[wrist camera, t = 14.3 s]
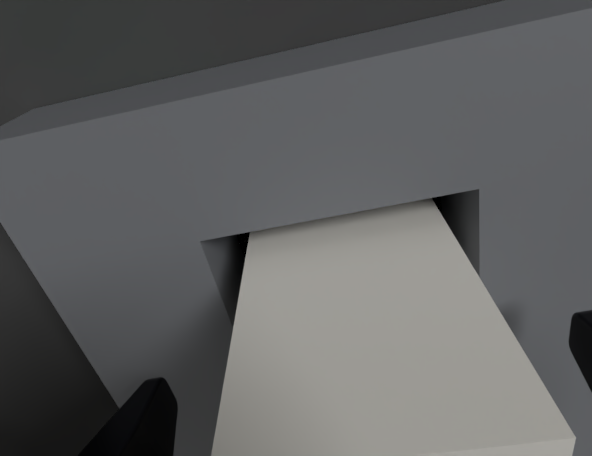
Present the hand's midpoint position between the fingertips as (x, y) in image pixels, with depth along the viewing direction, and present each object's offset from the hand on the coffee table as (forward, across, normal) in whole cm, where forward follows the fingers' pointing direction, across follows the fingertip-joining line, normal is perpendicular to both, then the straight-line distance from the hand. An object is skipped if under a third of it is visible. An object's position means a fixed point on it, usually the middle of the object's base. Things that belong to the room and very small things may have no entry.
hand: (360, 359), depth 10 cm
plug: (+4, 0, 0) cm, 4 cm away
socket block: (+4, 0, +4) cm, 6 cm away
